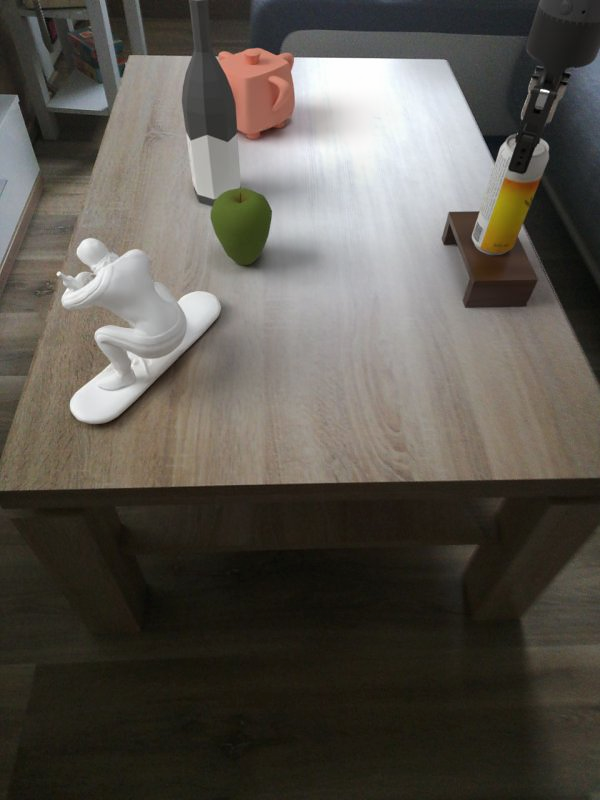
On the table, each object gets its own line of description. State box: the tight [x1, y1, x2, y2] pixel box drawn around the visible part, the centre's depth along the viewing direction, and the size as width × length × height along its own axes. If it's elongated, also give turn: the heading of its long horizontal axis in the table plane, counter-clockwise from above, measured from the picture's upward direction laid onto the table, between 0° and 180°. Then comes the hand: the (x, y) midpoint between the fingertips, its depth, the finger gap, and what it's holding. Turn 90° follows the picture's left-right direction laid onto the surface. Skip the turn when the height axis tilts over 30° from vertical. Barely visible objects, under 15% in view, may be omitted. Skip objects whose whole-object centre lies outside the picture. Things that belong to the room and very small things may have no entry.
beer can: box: [472, 133, 550, 255], centre depth 75 cm, size 6×6×15 cm
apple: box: [209, 187, 273, 266], centre depth 81 cm, size 9×8×12 cm
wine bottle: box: [181, 0, 242, 207], centre depth 84 cm, size 8×8×30 cm
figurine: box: [56, 237, 222, 425], centre depth 66 cm, size 26×13×17 cm, turn 148°
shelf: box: [441, 210, 539, 308], centre depth 83 cm, size 16×9×5 cm, turn 3°
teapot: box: [217, 47, 296, 140], centre depth 105 cm, size 17×16×13 cm
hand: (523, 154), depth 71 cm, fingers open, 8 cm apart
